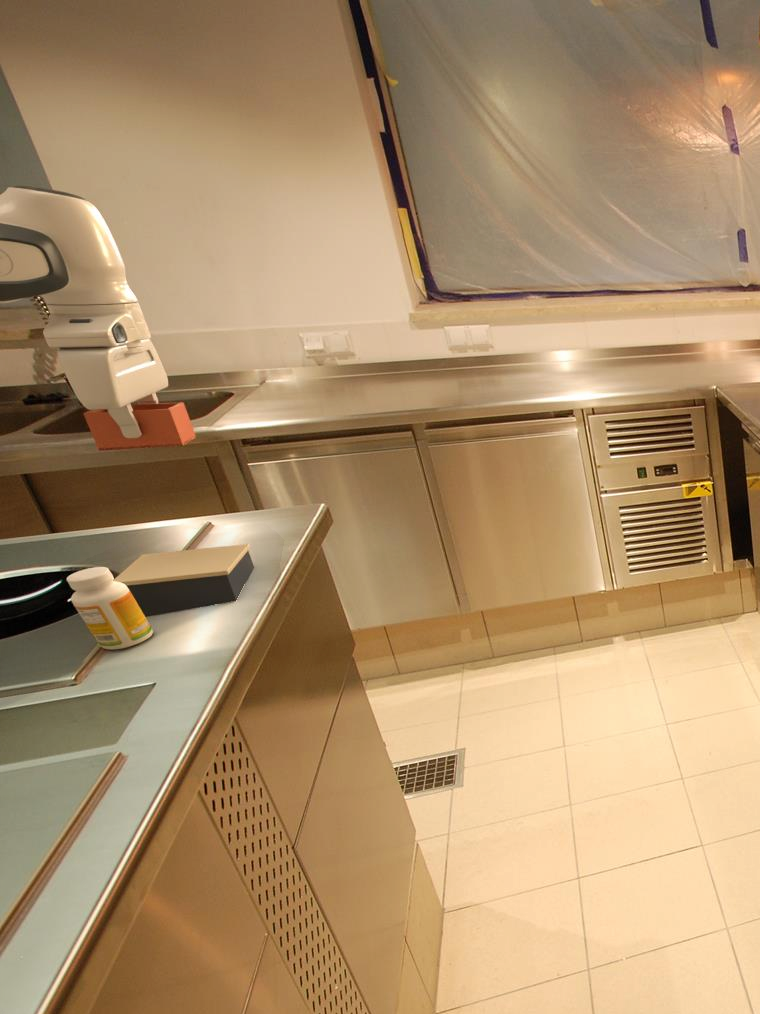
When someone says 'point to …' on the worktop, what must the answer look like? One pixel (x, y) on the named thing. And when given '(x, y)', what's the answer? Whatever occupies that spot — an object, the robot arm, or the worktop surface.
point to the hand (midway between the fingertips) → (144, 432)
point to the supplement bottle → (108, 609)
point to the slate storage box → (187, 578)
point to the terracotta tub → (143, 427)
